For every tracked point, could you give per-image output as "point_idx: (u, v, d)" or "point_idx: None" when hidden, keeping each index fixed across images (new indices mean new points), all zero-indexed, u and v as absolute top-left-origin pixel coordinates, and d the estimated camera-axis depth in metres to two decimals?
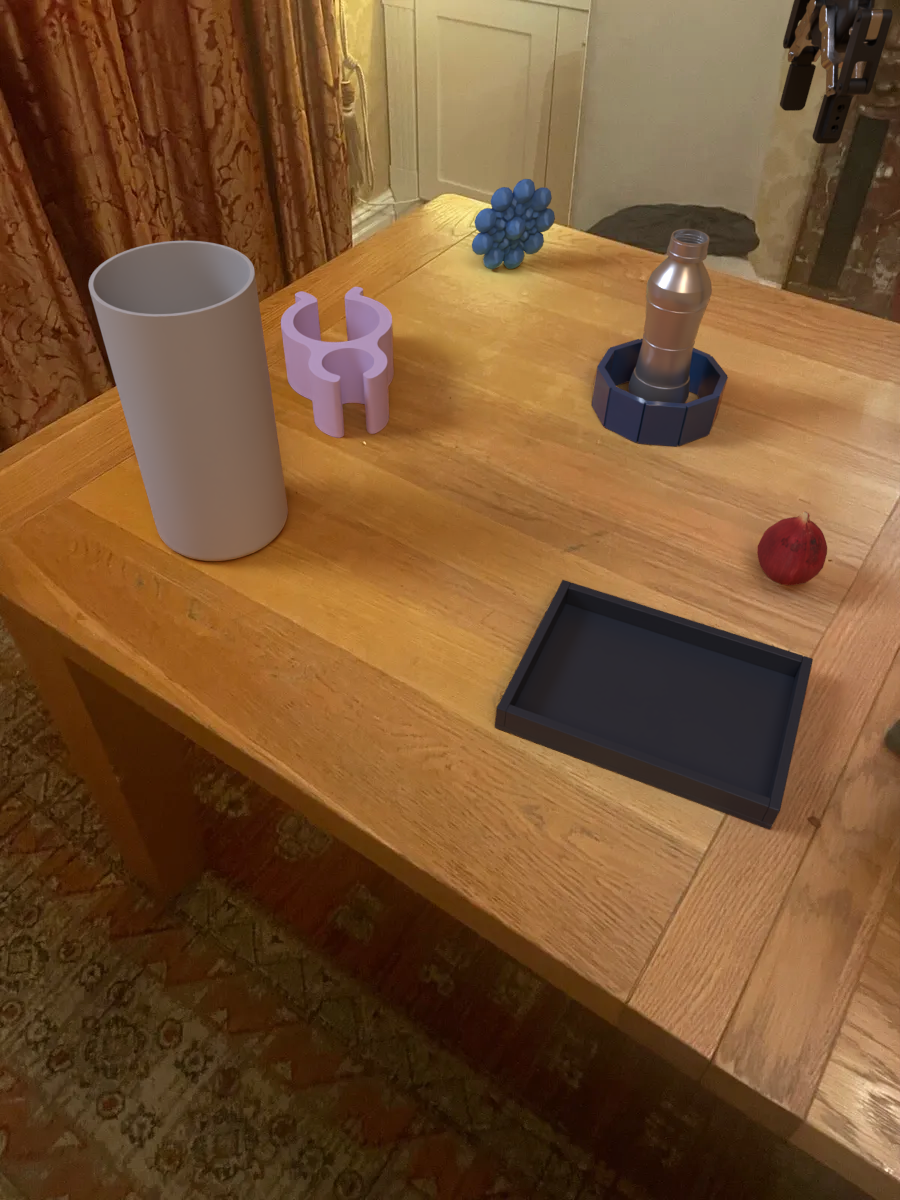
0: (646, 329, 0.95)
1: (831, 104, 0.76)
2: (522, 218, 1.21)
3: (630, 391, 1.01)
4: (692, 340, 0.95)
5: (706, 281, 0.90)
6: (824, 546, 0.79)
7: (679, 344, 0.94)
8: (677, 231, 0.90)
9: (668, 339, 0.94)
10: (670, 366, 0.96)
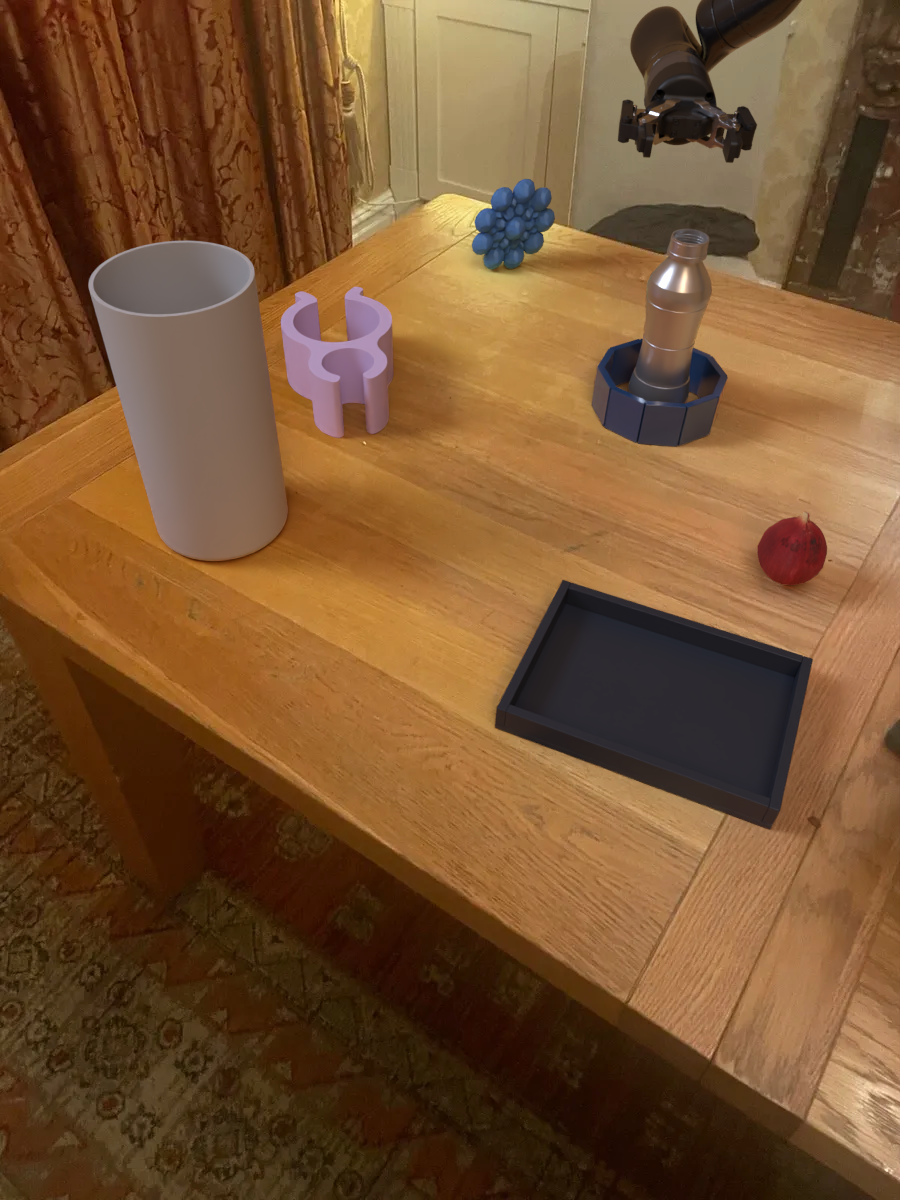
0: (646, 329, 0.95)
1: None
2: (522, 218, 1.21)
3: (630, 391, 1.01)
4: (692, 340, 0.95)
5: (706, 281, 0.90)
6: (824, 546, 0.79)
7: (679, 344, 0.94)
8: (677, 231, 0.90)
9: (668, 339, 0.94)
10: (670, 366, 0.96)
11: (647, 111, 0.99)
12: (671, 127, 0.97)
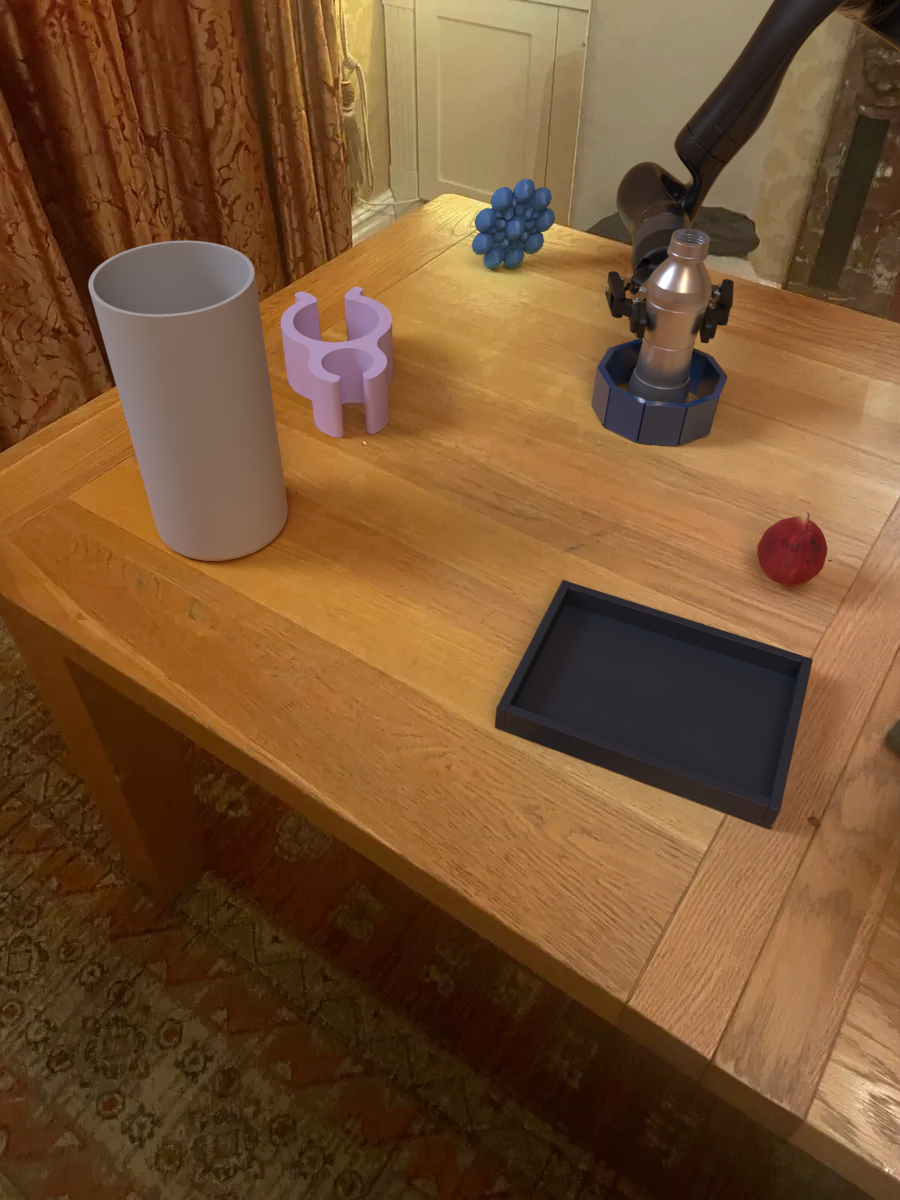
0: (646, 329, 0.95)
1: None
2: (522, 218, 1.21)
3: (630, 391, 1.01)
4: (692, 340, 0.95)
5: (706, 281, 0.90)
6: (824, 546, 0.79)
7: (679, 344, 0.94)
8: (678, 231, 0.90)
9: (668, 339, 0.94)
10: (670, 367, 0.96)
11: (632, 281, 1.00)
12: None
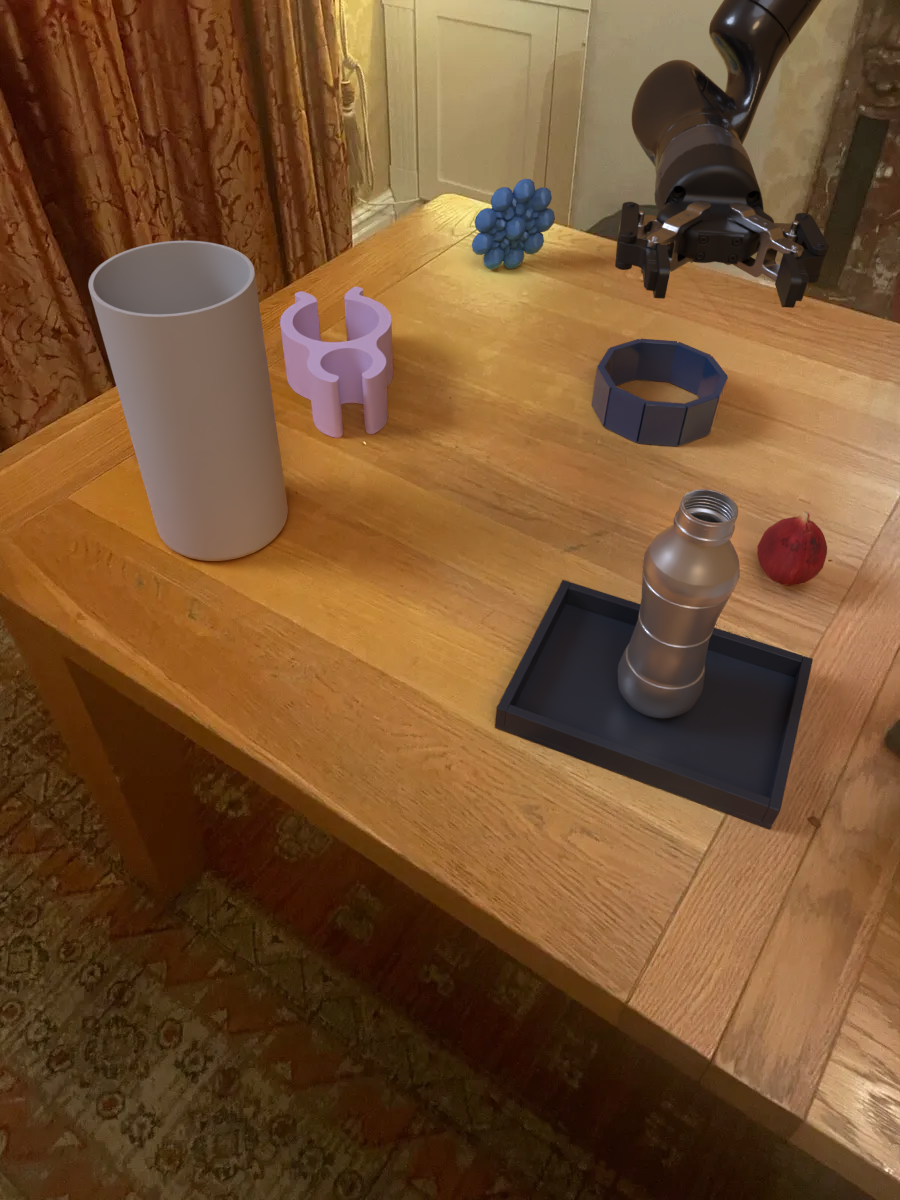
0: (643, 613, 0.66)
1: None
2: (522, 218, 1.21)
3: (620, 680, 0.71)
4: (710, 632, 0.65)
5: (732, 565, 0.61)
6: (824, 546, 0.79)
7: (691, 640, 0.65)
8: (689, 494, 0.60)
9: (674, 634, 0.64)
10: (677, 664, 0.66)
11: (660, 220, 0.66)
12: (696, 246, 0.64)
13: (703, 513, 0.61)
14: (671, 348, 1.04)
